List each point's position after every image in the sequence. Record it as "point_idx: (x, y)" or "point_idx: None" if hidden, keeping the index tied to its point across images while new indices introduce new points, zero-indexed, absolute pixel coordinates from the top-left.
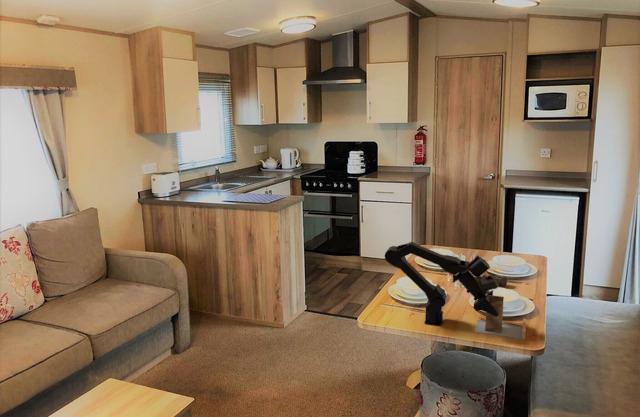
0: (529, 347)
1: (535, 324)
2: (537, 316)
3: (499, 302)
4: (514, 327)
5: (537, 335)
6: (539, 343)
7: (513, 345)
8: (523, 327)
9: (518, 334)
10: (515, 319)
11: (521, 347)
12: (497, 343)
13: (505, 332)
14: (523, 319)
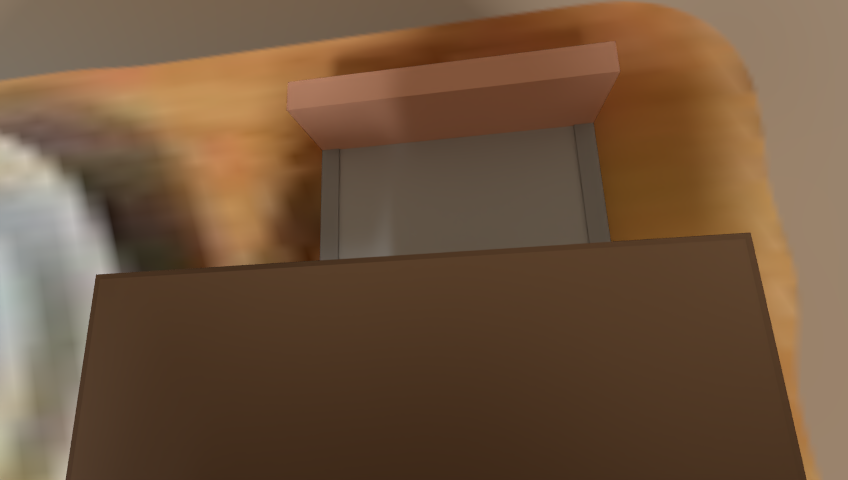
0: (699, 56)
1: (235, 79)
2: (89, 87)
3: (768, 384)
4: (361, 211)
5: (433, 39)
6: (577, 6)
7: (736, 176)
8: (522, 74)
9: (499, 161)
10: (179, 228)
11: (738, 111)
12: (780, 320)
13: None
14: (311, 105)
